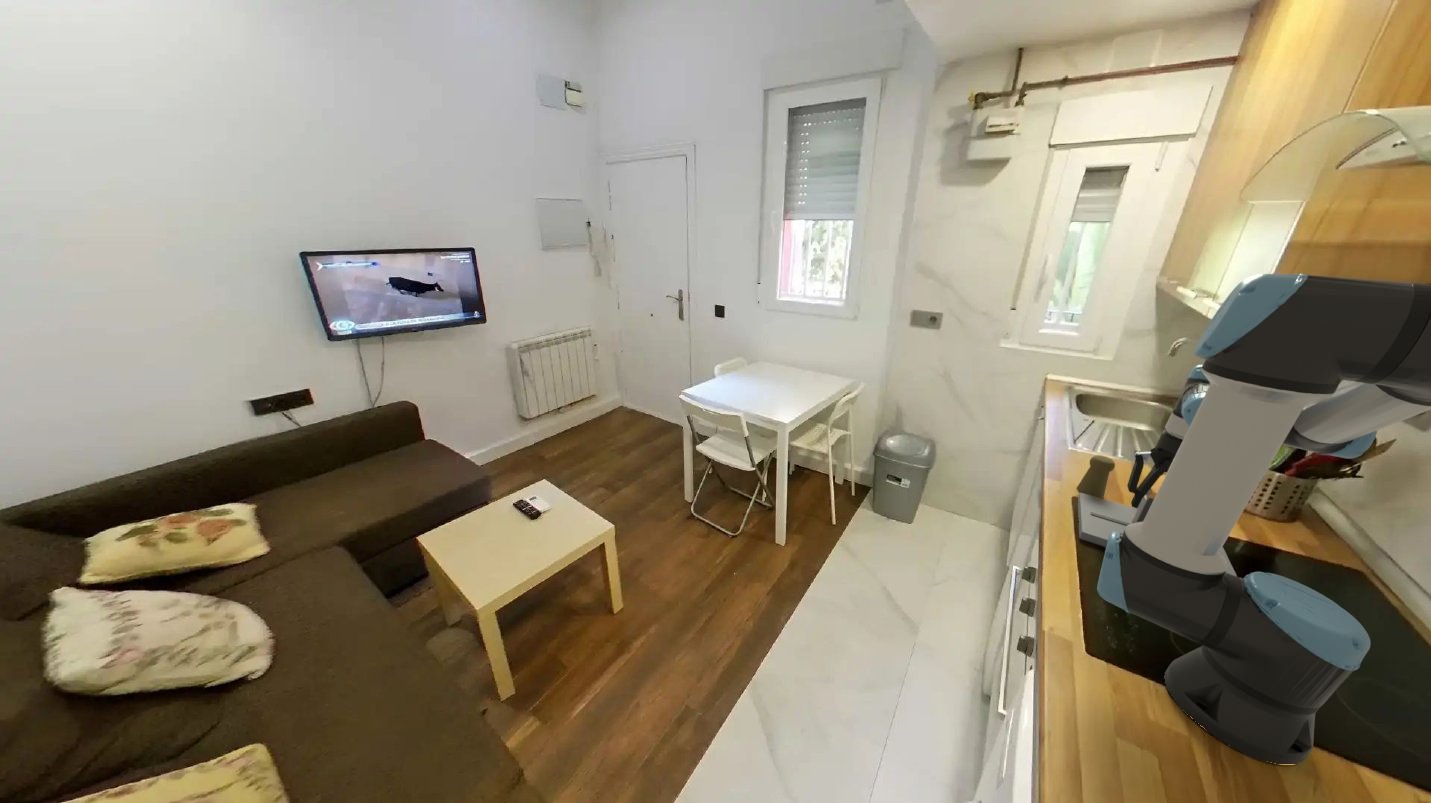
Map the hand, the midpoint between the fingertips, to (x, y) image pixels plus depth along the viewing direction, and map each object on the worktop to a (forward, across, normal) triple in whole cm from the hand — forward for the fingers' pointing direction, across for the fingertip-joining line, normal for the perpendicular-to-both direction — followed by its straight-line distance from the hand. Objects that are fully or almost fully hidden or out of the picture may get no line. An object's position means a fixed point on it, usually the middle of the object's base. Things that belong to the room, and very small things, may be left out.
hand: (1143, 521), depth 105 cm
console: (+4, -2, 0) cm, 4 cm away
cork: (+4, +8, -16) cm, 19 cm away
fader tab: (+2, 0, 0) cm, 2 cm away
